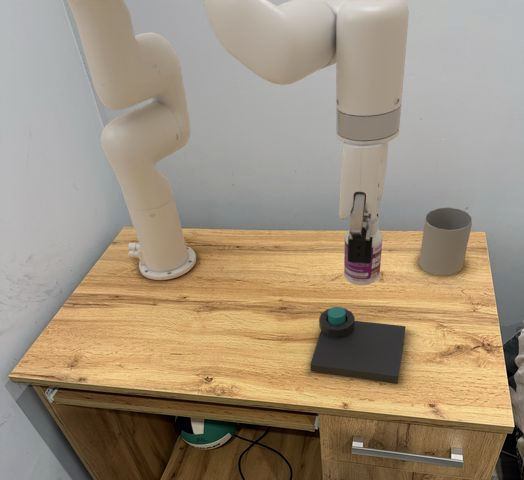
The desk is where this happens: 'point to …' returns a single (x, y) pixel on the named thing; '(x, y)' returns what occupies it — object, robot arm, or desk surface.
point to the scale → (359, 349)
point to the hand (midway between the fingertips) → (362, 248)
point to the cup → (445, 241)
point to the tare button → (336, 315)
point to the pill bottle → (364, 271)
